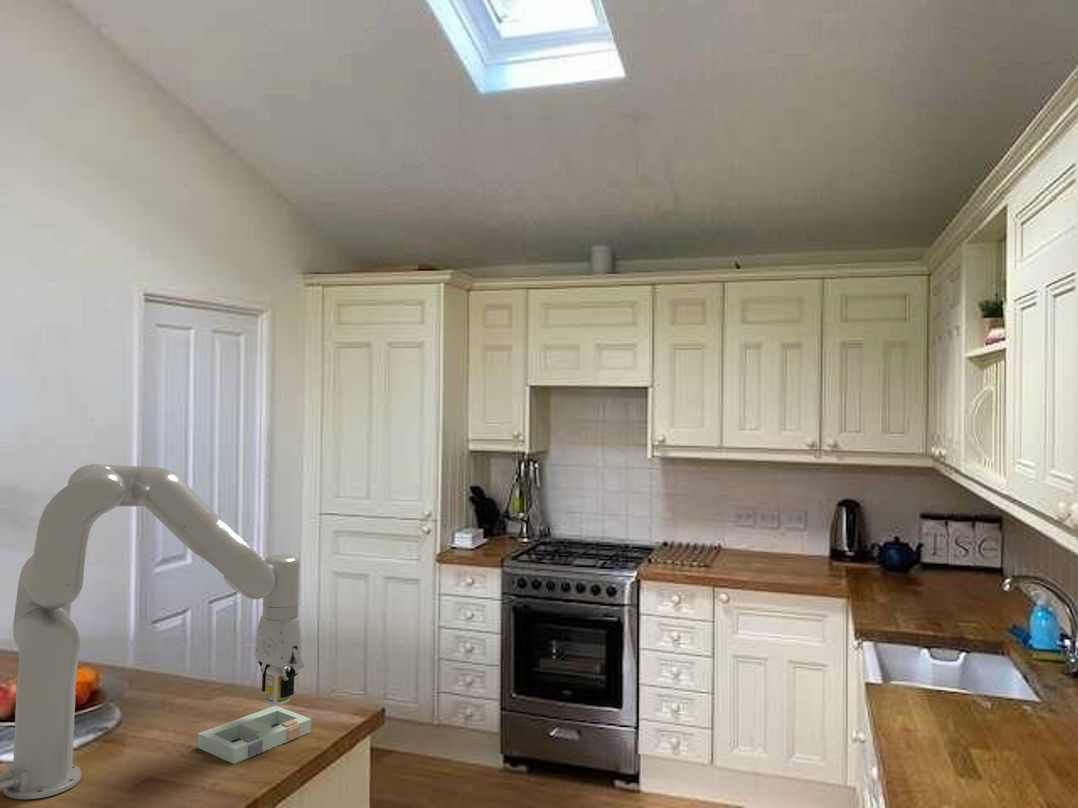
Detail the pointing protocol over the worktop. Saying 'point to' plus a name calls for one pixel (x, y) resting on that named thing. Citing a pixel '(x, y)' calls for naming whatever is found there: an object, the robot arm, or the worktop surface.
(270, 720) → the socket board
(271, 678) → the supplement bottle
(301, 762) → the worktop surface
